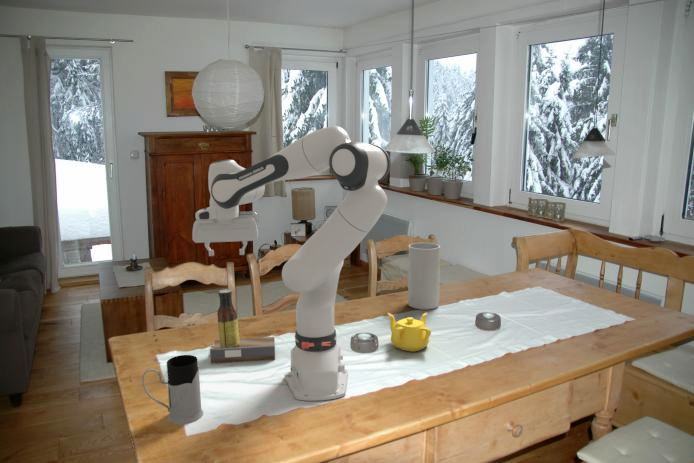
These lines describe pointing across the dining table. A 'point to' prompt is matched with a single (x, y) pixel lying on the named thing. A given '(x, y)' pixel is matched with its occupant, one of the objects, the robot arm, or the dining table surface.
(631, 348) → the dining table surface
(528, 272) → the dining table surface
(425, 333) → the teapot
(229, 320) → the sauce bottle
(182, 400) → the grey mug
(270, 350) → the price rail
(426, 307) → the cylinder vase
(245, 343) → the book
